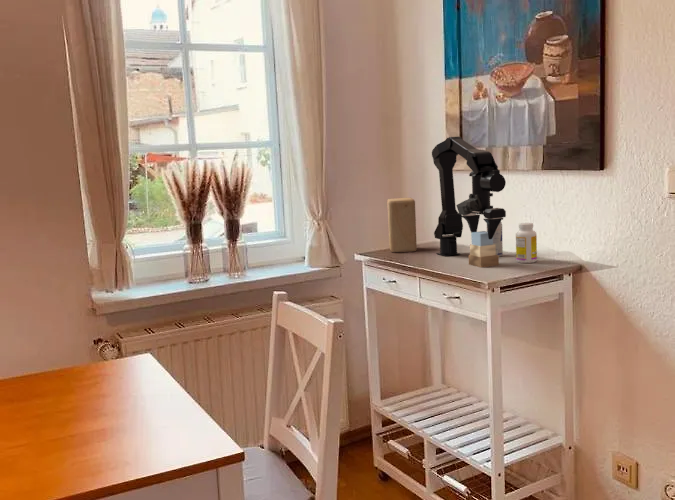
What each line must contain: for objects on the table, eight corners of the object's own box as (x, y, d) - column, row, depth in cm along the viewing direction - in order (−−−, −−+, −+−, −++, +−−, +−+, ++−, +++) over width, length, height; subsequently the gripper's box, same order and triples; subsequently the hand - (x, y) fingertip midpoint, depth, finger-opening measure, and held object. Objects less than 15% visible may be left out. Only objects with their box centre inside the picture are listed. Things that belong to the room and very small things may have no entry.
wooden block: (417, 251, 260) (415, 199, 257) (390, 253, 260) (388, 200, 257) (414, 247, 270) (412, 197, 267) (389, 249, 270) (387, 198, 267)
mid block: (470, 254, 228) (469, 244, 228) (485, 252, 230) (485, 242, 230) (480, 257, 223) (479, 246, 222) (495, 255, 225) (495, 244, 224)
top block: (471, 244, 227) (471, 232, 227) (484, 242, 229) (483, 231, 229) (480, 246, 223) (480, 234, 222) (493, 244, 225) (492, 232, 224)
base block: (468, 265, 229) (468, 254, 228) (486, 262, 231) (485, 252, 231) (481, 268, 222) (480, 257, 222) (498, 265, 225) (498, 255, 224)
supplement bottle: (534, 259, 231) (534, 221, 229) (538, 263, 224) (538, 224, 222) (514, 260, 232) (514, 222, 230) (517, 263, 225) (517, 225, 223)
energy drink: (503, 254, 244) (502, 221, 242) (501, 257, 239) (501, 223, 237) (488, 254, 246) (487, 221, 244) (486, 257, 241) (485, 223, 239)
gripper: (444, 191, 229) (445, 237, 231) (477, 193, 212) (478, 243, 214) (472, 188, 233) (473, 233, 236) (506, 191, 216) (507, 239, 219)
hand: (482, 237), depth 226 cm, fingers open, 9 cm apart
